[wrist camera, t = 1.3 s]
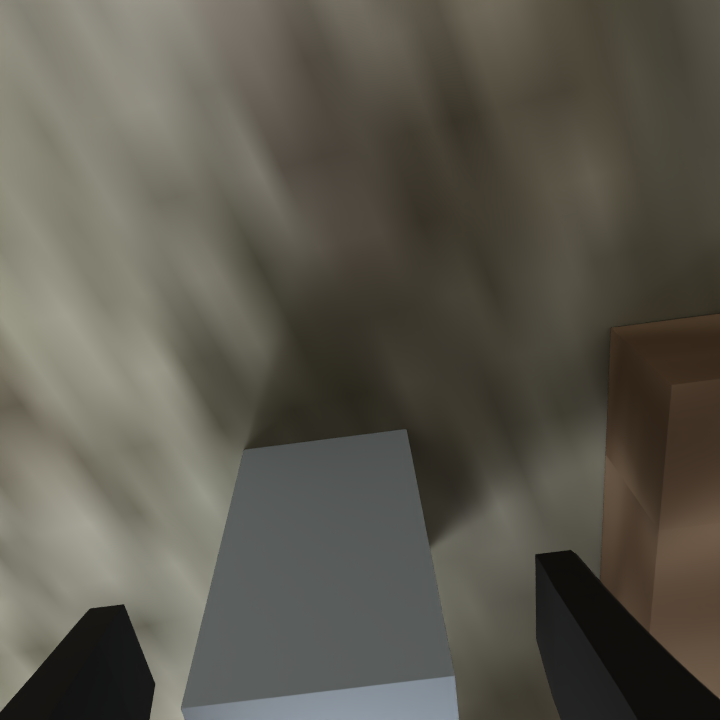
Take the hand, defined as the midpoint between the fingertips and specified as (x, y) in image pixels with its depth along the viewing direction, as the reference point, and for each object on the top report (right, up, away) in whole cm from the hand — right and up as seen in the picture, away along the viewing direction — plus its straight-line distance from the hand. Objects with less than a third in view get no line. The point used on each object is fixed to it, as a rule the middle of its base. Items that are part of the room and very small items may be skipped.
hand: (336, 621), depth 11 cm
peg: (0, +1, +3) cm, 3 cm away
